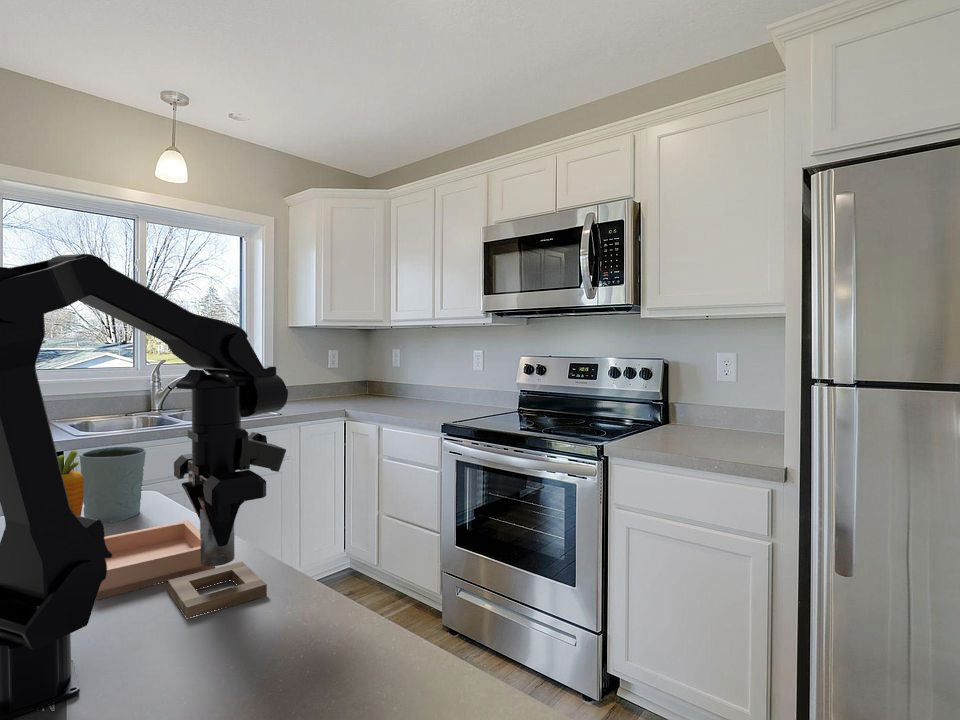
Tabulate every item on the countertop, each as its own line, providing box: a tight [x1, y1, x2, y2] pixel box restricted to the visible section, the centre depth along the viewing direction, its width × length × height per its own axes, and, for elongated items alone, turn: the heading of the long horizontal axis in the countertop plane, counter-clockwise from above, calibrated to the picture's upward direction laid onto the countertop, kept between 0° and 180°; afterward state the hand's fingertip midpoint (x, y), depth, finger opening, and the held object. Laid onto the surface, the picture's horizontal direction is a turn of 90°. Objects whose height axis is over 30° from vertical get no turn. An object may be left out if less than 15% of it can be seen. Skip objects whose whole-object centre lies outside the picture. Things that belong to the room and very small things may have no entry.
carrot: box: [57, 449, 84, 517], centre depth 87 cm, size 5×5×15 cm
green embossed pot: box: [79, 446, 147, 524], centre depth 101 cm, size 10×10×12 cm
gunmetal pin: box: [199, 507, 236, 567], centre depth 71 cm, size 4×4×7 cm
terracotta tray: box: [96, 520, 216, 600], centre depth 79 cm, size 14×14×4 cm
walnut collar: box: [167, 561, 268, 619], centre depth 71 cm, size 9×9×2 cm
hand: (217, 540), depth 71 cm, fingers closed on gunmetal pin, 4 cm apart
